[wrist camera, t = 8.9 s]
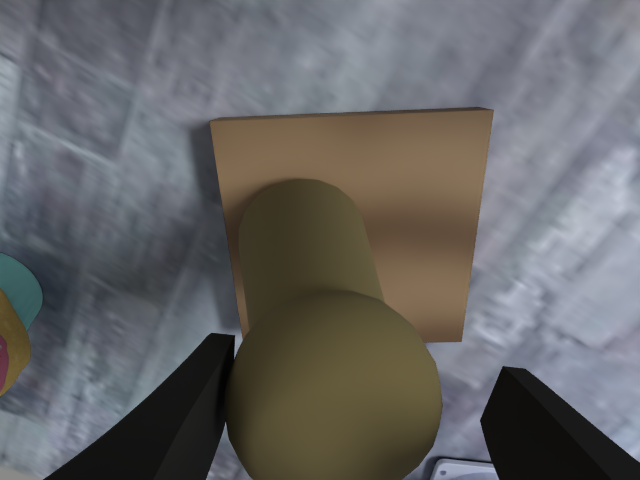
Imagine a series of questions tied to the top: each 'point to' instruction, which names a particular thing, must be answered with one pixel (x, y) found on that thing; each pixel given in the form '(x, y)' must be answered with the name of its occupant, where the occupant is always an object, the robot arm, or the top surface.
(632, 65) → the top surface
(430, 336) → the walnut board
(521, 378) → the robot arm
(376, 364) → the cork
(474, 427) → the top surface
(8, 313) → the cupcake
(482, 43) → the top surface
